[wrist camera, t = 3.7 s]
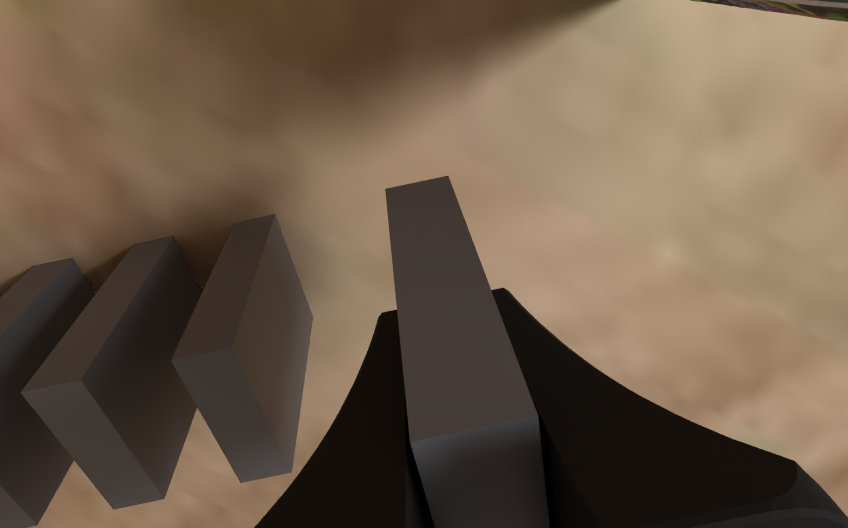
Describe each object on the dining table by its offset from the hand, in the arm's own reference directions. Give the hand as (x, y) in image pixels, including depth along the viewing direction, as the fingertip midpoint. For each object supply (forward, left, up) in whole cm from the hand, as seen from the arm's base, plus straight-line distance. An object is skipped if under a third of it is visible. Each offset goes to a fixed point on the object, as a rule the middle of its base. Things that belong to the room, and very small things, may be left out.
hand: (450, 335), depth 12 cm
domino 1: (-3, +14, -10) cm, 18 cm away
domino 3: (-3, +6, -10) cm, 12 cm away
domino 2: (-3, +10, -10) cm, 15 cm away
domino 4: (0, 0, -3) cm, 3 cm away
